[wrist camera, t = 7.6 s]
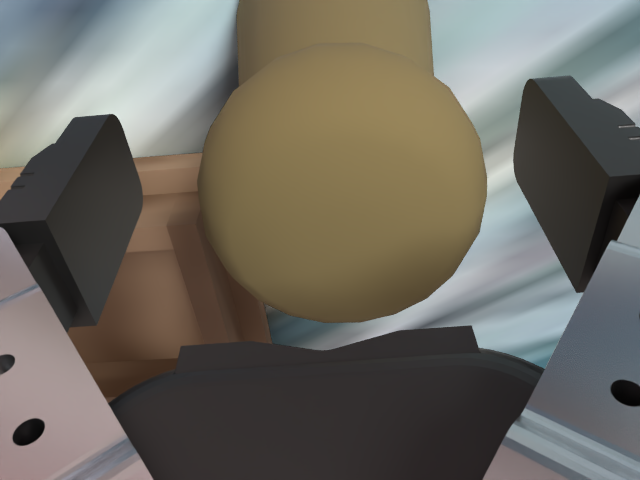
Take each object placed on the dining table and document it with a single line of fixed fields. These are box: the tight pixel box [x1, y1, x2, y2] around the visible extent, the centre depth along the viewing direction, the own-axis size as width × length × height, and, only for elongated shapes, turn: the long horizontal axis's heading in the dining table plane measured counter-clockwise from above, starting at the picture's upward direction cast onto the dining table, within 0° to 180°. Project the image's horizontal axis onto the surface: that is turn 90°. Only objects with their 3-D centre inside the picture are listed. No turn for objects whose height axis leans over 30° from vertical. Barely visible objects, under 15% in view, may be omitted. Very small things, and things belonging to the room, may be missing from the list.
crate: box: [0, 153, 272, 403], centre depth 23 cm, size 12×12×3 cm
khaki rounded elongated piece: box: [197, 0, 487, 323], centre depth 13 cm, size 6×6×11 cm
